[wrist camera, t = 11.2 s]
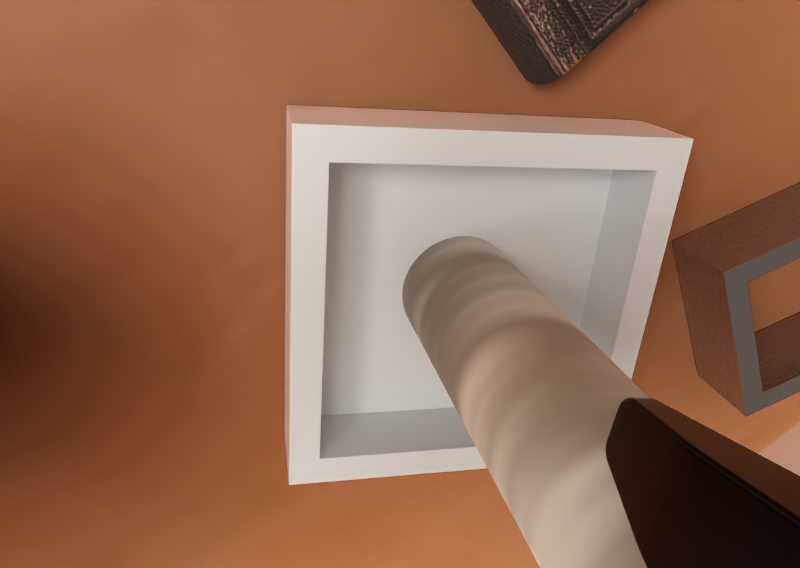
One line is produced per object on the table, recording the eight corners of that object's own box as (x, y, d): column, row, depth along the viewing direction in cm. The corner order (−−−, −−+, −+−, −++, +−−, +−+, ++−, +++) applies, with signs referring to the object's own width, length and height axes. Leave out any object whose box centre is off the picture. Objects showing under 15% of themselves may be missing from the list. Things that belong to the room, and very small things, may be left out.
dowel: (425, 357, 24) (608, 709, 12) (384, 267, 22) (553, 580, 10) (524, 310, 24) (798, 613, 12) (491, 217, 22) (777, 468, 10)
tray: (284, 430, 24) (288, 484, 22) (286, 104, 20) (292, 123, 17) (575, 411, 27) (611, 457, 24) (640, 120, 22) (694, 138, 20)
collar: (698, 375, 28) (746, 416, 25) (671, 241, 24) (723, 272, 22) (840, 309, 28) (902, 343, 25) (832, 167, 25) (902, 189, 22)
